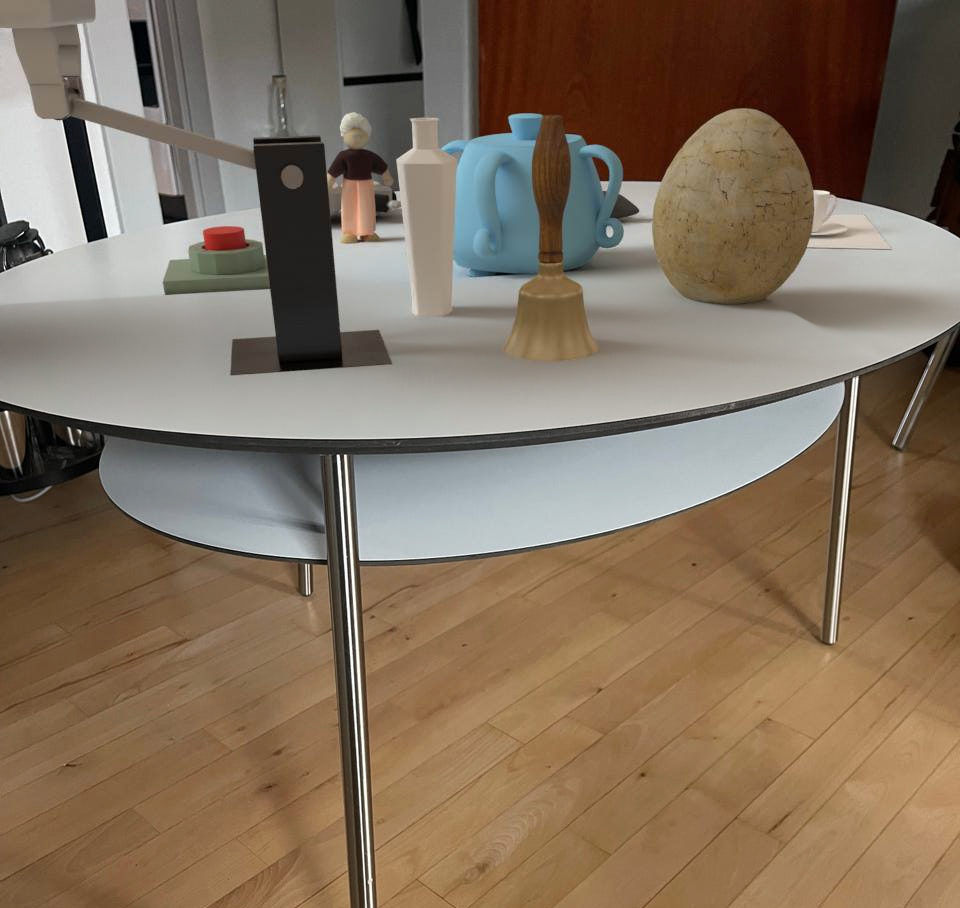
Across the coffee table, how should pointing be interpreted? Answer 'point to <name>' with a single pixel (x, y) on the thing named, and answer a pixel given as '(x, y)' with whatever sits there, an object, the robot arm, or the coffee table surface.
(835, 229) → the teacup and saucer
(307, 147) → the bracket
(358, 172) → the grandmother figurine
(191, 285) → the control block
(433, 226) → the white faceted vase
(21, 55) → the robot arm
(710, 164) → the fossilized egg
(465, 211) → the decorative pot
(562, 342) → the hand bell
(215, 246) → the button
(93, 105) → the lever
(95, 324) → the coffee table surface
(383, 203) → the robot toy
